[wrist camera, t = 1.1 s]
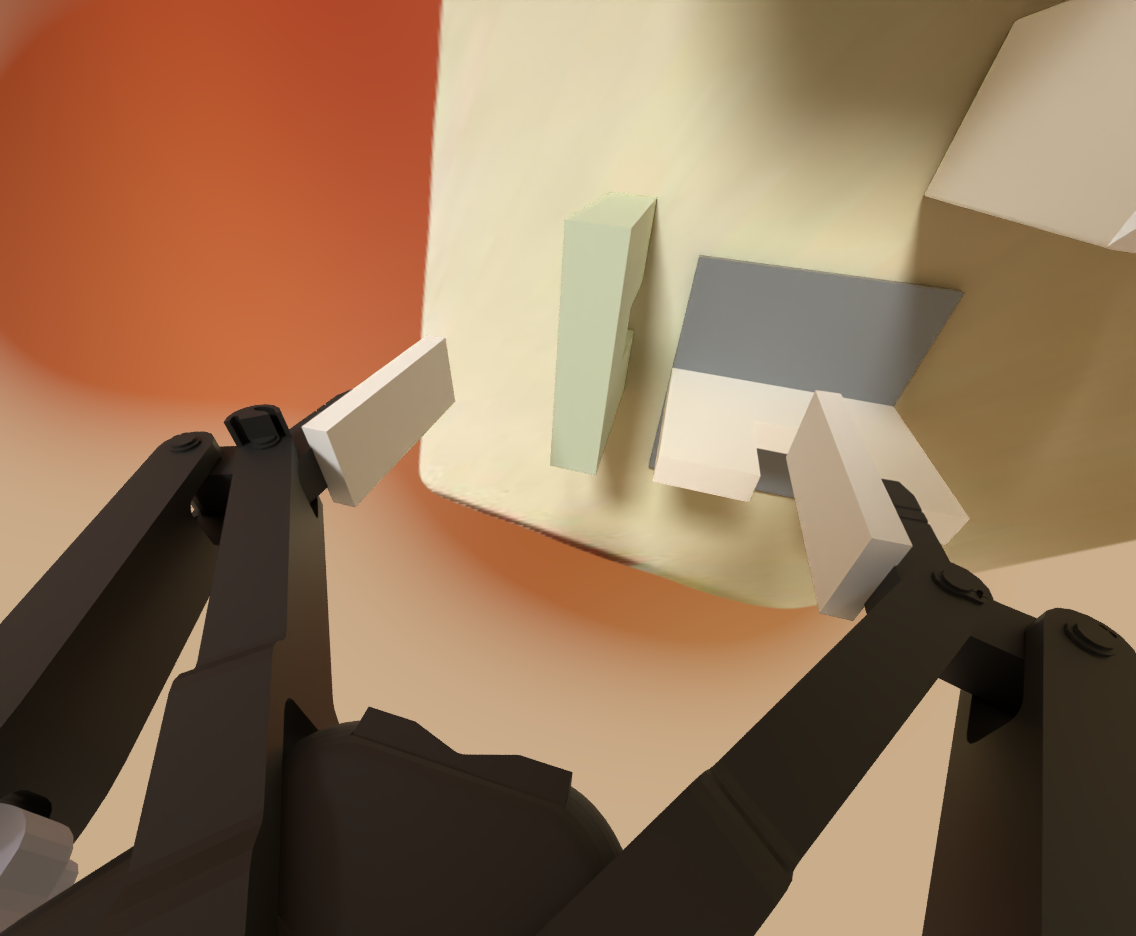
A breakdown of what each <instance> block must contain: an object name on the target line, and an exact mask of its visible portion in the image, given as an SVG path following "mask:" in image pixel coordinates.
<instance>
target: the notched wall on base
mask: <svg viewBox="0 0 1136 936" xmlns="http://www.w3.org/2000/svg"><path fill="white" fill-rule="evenodd" d="M963 294H964V292H962V291H961V290H955V289H948V288H940V287H933V286H925V285H918V284H911V283H903V282H896V281H888V280H881V279H873V278H866V277H859V276H851V275H844V274H836V273H829V272H821V271H814V270H807V269H799V268H792V267H784V266H777V265H769V264H762V263H755V262H747V261H740V260H732V259H725V258H717V257H710V256H703V255H699V260H698V264H697V268H696V272H695V276H694V280H693V284H692V289H691V293H690V297H689V301H688V305H687V309H686V313H685V318H684V322H683V326H682V330H681V334H680V338H679V342H678V347H677V351H676V355H675V359H674V363H673V367H672V371H671V376H670V380H669V384H668V388H667V392H666V396H665V400H664V405H663V409H662V413H661V417H660V421H659V425H658V429H657V434H656V438H655V442H654V446H653V450H652V454H651V458H650V463H649V467H650V468H654V474H653V480H652V481H653V482H657V483H662V484H667V485H671V486H676V487H680V488H685V489H690V490H694V491H699V492H703V493H708V494H713V495H717V496H722V497H727V498H731V499H736V500H740V501H745V502H749V500H750V498H751V496H752V494H753V492H754V490H758V491H763V492H767V493H772V494H777V495H782V496H786V497H791V498H795V497H794V493H793V488H792V483H791V479H790V474H789V470H788V465H787V460H786V456H787V454H788V452H789V449H790V447H791V445H792V442H793V440H794V438H795V436H796V433H797V431H798V429H799V426H800V424H801V422H802V419H803V417H804V415H805V413H806V410H807V408H808V406H809V403H810V401H811V399H812V397H813V394H814V392H815V390H819V391H826V392H833V393H840V394H841V395H842V397H843V399H844V401H845V403H846V406H847V408H848V410H849V412H850V414H851V416H852V418H853V420H854V423H855V425H856V427H857V429H858V431H859V433H860V435H861V437H862V439H863V442H864V444H865V446H866V448H867V450H868V452H869V454H870V456H871V459H872V461H873V463H874V465H875V467H876V469H877V471H878V473H879V476H880V478H881V479H887V480H893V481H899V482H900V483H901V484H902V485H903V486H904V487H905V488H907V489H908V490H909V491H910V492H911V493H912V494H913V495H914V496H915V498H916V500H917V502H918V503H919V505H920V507H921V509H922V511H921V512H923V513H924V514H925V516H926V518H927V520H928V524H930V526H931V527H932V529H933V531H934V533H935V535H936V537H937V539H938V540H939V542H940V544H943V545H946V544H947V543H948V542H949V541H950V540H951V539H952V538H953V537H954V536H955V535H956V534H957V533H958V532H959V530H960V529H961V528H962V527H963V526H964V525H965V524H966V523H967V522H968V521H969V520H970V518H969V517H968V515H967V514H966V512H965V511H964V510H963V508H962V507H961V505H960V504H959V502H958V501H957V499H956V498H955V496H954V495H953V493H952V492H951V490H950V489H949V487H948V486H947V485H946V483H945V482H944V480H943V479H942V477H941V476H940V474H939V473H938V471H937V470H936V468H935V467H934V465H933V464H932V462H931V461H930V459H929V458H928V457H927V455H926V454H925V452H924V451H923V449H922V448H921V446H920V445H919V443H918V442H917V440H916V439H915V437H914V436H913V434H912V433H911V432H910V430H909V429H908V427H907V426H906V424H905V423H904V421H903V420H902V418H901V417H900V415H899V414H898V412H897V411H896V409H895V408H894V405H895V403H896V402H897V400H898V398H899V397H900V395H901V394H902V392H903V390H904V389H905V387H906V386H907V384H908V382H909V381H910V379H911V378H912V376H913V374H914V373H915V371H916V370H917V368H918V366H919V365H920V363H921V362H922V360H923V358H924V357H925V355H926V354H927V352H928V350H929V349H930V347H931V346H932V344H933V342H934V341H935V339H936V338H937V336H938V334H939V333H940V331H941V330H942V328H943V326H944V325H945V323H946V322H947V320H948V318H949V317H950V315H951V314H952V312H953V310H954V309H955V307H956V306H957V304H958V302H959V301H960V299H961V298H962V296H963Z"/></svg>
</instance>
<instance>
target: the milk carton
mask: <svg viewBox="0 0 1136 936" xmlns="http://www.w3.org/2000/svg"><path fill="white" fill-rule="evenodd" d="M925 196H926V197H929V198H932V199H936V200H939V201H943V202H946V203H950V204H953V205H957V206H960V207H964V208H967V209H971V210H974V211H978V212H981V213H985V214H988V215H992V216H995V217H999V218H1002V219H1006V220H1009V221H1013V222H1016V223H1020V224H1023V225H1027V226H1030V227H1034V228H1037V229H1041V230H1044V231H1048V232H1051V233H1055V234H1058V235H1062V236H1065V237H1069V238H1072V239H1076V240H1079V241H1083V242H1086V243H1090V244H1093V245H1097V246H1100V247H1104V248H1107V249H1112V250H1117V251H1123V252H1129V253H1136V0H1069V1H1066V2H1063V3H1061V4H1058V5H1055V6H1053V7H1050V8H1047V9H1045V10H1042V11H1039V12H1037V13H1034V14H1031V15H1028V16H1026V17H1023V18H1020V19H1018V20H1016V21H1015V22H1014V24H1013V26H1012V28H1011V30H1010V31H1009V33H1008V35H1007V37H1006V39H1005V41H1004V43H1003V45H1002V47H1001V49H1000V51H999V53H998V54H997V56H996V58H995V60H994V62H993V64H992V66H991V68H990V70H989V72H988V74H987V76H986V77H985V79H984V81H983V83H982V85H981V87H980V89H979V91H978V93H977V95H976V97H975V98H974V100H973V102H972V104H971V106H970V108H969V110H968V112H967V114H966V116H965V118H964V120H963V121H962V123H961V125H960V127H959V129H958V131H957V133H956V135H955V137H954V139H953V141H952V143H951V144H950V146H949V148H948V150H947V152H946V154H945V156H944V158H943V160H942V162H941V164H940V166H939V167H938V169H937V171H936V173H935V175H934V177H933V179H932V181H931V183H930V185H929V187H928V189H927V190H926V192H925Z"/></svg>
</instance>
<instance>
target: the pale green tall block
mask: <svg viewBox="0 0 1136 936" xmlns="http://www.w3.org/2000/svg"><path fill="white" fill-rule="evenodd" d="M656 200H657V197H650V196H641V195H632V194H624V193H615V192H611V193H609V194H607V195H606V196H604V197H602V198H601V199H599V200H597V201H595V202H594V203H592V204H590V205H589V206H587V207H585V208H584V209H582V210H580V211H578V212H577V213H575V214H573V215H572V216H570V217H568V218H567V219H565V225H564V242H563V259H562V276H561V293H560V309H559V326H558V343H557V360H556V377H555V394H554V411H553V428H552V444H551V461H550V466H554V467H559V468H563V469H568V470H572V471H577V472H582V473H586V474H591V475H596V472H597V469H598V466H599V463H600V460H601V457H602V454H603V451H604V448H605V445H606V442H607V439H608V436H609V433H610V430H611V427H612V424H613V421H614V418H615V415H616V412H617V409H618V406H619V403H620V400H621V397H622V394H623V391H624V387H625V381H626V375H627V369H628V363H629V358H630V352H631V346H632V340H633V334H634V330H630V329H628V323H629V317H630V310H631V306H632V304H633V302H634V299H635V297H636V295H637V293H638V290H639V288H640V286H641V284H642V282H643V276H644V270H645V264H646V258H647V253H648V247H649V241H650V235H651V229H652V223H653V218H654V212H655V206H656Z"/></svg>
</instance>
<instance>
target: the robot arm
mask: <svg viewBox="0 0 1136 936" xmlns="http://www.w3.org/2000/svg"><path fill="white" fill-rule="evenodd" d="M454 402H455V398H454V391H453V385H452V378H451V372H450V365H449V359H448V352H447V346H446V339H445V338H443V337H436V336H429V335H427V336H425V337H424V338H423V339H421V340H420V341H418V342H417V343H416V344H414V345H413V346H412V347H410V348H409V349H407V350H406V351H405V352H403V353H402V354H401V355H399V356H398V357H396V358H395V359H394V360H392V361H391V362H390V363H388V364H387V365H385V366H384V367H383V368H381V369H380V370H379V371H377V372H376V373H375V374H373V375H372V376H370V377H369V378H368V379H366V380H365V381H364V382H362V383H361V384H359V385H358V386H357V387H355V388H354V389H351V390H349V391H346V392H344V393H342V394H339V395H337V396H335V397H334V398H333V399H331V400H330V401H328V402H327V403H326V405H323V406H322V407H320V408H319V409H317V412H316V411H314V412H313V413H312V414H310V415H309V416H307V417H306V418H305V419H303V420H302V421H300V422H299V423H298V424H296V425H295V426H293V427H292V428H291V429H288V426H287V424H286V422H285V420H284V418H283V415H282V413H281V411H280V409H279V408H278V407H276V406H274V405H265V404H264V405H254V406H250V407H246V408H243V409H241V410H238V411H236V412H234V413H232V414H231V415H229V416H228V417H227V418H226V420H225V421H224V424H225V425H226V427H227V429H228V431H229V433H230V434H231V436H232V438H233V440H234V442H235V443H236V445H237V446H224V447H219V445H218V444H217V442H216V440H215V439H214V437H213V435H212V434H211V433H208V432H190V433H183V434H181V435H176V436H174V437H173V438H171V439H169V440H167V441H165V442H164V443H162V444H161V445H160V446H159V447H157V449H156V450H155V451H154V452H153V453H152V454H151V455H150V456H149V458H148V459H147V460H146V461H145V462H144V463H143V464H142V465H141V467H140V468H139V469H138V470H137V471H136V472H135V473H134V474H133V476H132V477H131V478H130V479H129V480H128V481H127V482H126V483H125V484H124V486H123V487H122V488H121V489H120V490H119V491H118V492H117V493H116V495H115V496H114V497H113V498H112V499H111V500H110V501H109V503H108V504H107V505H106V506H105V507H104V508H103V509H102V510H101V511H100V513H99V514H98V515H97V516H96V517H95V518H94V519H93V520H92V522H91V523H90V524H89V525H88V526H87V527H86V528H85V529H84V531H83V532H82V533H81V534H80V535H79V536H78V537H77V538H76V540H75V541H74V542H73V543H72V544H71V545H70V546H69V547H68V548H67V550H66V551H65V552H64V553H63V554H62V555H61V556H60V557H59V559H58V560H57V561H56V562H55V563H54V564H53V565H52V566H51V568H50V569H49V570H48V571H47V572H46V573H45V574H44V575H43V577H42V578H41V579H40V580H39V581H38V582H37V583H36V584H35V585H34V587H33V588H32V589H31V590H30V591H29V592H28V593H27V594H26V596H25V597H24V598H23V599H22V600H21V601H20V602H19V603H18V605H17V606H16V607H15V608H14V609H13V610H12V611H11V612H10V614H9V615H8V616H7V617H6V618H5V619H4V620H3V621H2V623H1V624H0V936H754V935H755V934H756V932H757V931H758V930H759V928H760V927H761V925H762V924H763V923H764V921H765V920H766V919H767V917H768V916H769V915H770V913H771V912H772V911H773V909H774V908H775V907H776V905H777V904H778V902H779V901H780V899H781V898H782V897H783V895H784V893H785V892H786V891H787V889H788V887H789V885H790V883H791V881H792V876H793V871H794V869H795V867H796V866H797V864H798V863H799V861H800V860H801V859H802V857H803V856H804V854H805V853H806V852H807V851H808V849H809V848H810V847H811V845H812V844H813V843H814V841H815V840H816V839H817V837H818V836H819V835H820V833H821V832H822V831H823V829H824V828H825V827H826V825H827V824H828V823H829V821H830V820H831V819H832V818H833V816H834V815H835V814H836V812H837V811H838V809H839V808H840V807H841V806H842V804H843V803H844V802H845V800H846V799H847V798H848V796H849V795H850V794H851V792H852V791H853V790H854V789H855V787H856V786H857V785H858V783H859V782H860V781H861V779H862V778H863V777H864V775H865V774H866V773H867V771H868V770H869V769H870V767H871V766H872V765H873V763H874V762H875V761H876V759H877V758H878V757H879V755H880V754H881V753H882V751H883V750H884V749H885V748H886V746H887V745H888V744H889V742H890V741H891V740H892V738H893V737H894V736H895V734H896V733H897V732H898V730H899V729H900V728H901V726H902V725H903V724H904V722H905V721H906V720H907V718H908V717H909V716H910V714H911V713H912V712H913V710H914V709H915V708H916V706H917V705H918V704H919V703H920V701H921V700H922V699H923V697H924V696H925V695H926V693H927V692H928V691H929V689H930V688H931V687H932V685H933V684H934V683H935V681H936V680H937V679H938V678H940V679H942V680H944V681H946V682H948V683H950V684H952V685H954V686H956V687H958V688H960V689H961V690H960V697H959V703H958V709H957V716H956V722H955V728H954V735H953V741H952V747H951V754H950V760H949V767H948V773H947V779H946V786H945V792H944V799H943V806H942V811H941V818H940V824H939V831H938V837H937V844H936V850H935V856H934V862H933V869H932V876H931V882H930V888H929V895H928V901H927V908H926V914H925V920H924V926H923V927H924V928H923V933H922V936H1136V653H1135V651H1134V649H1133V648H1132V647H1131V646H1130V645H1129V644H1128V643H1127V642H1126V641H1125V640H1124V639H1123V638H1122V637H1121V636H1120V635H1119V634H1117V633H1116V632H1115V631H1113V630H1112V629H1111V628H1109V627H1108V626H1106V625H1105V624H1103V623H1101V622H1099V621H1097V620H1095V619H1093V618H1092V617H1090V616H1088V615H1085V614H1082V613H1079V612H1076V611H1074V610H1070V609H1063V608H1054V609H1051V610H1048V611H1046V612H1045V613H1043V614H1042V615H1041V616H1040V617H1038V618H1035V617H1032V616H1030V615H1027V614H1025V613H1022V612H1020V611H1018V610H1015V609H1013V608H1010V607H1008V606H1005V605H1003V604H1000V603H998V602H996V601H994V600H993V597H992V595H991V593H990V591H989V589H988V588H987V587H986V586H985V585H984V584H983V582H982V581H981V580H980V579H979V578H977V577H976V576H975V575H973V574H972V573H971V572H969V571H968V570H966V569H964V568H962V567H960V566H958V565H956V564H954V563H951V562H950V561H949V559H948V557H947V555H946V553H945V552H944V550H943V548H942V546H941V544H940V542H939V540H938V539H937V537H936V535H935V533H934V531H933V529H932V527H931V526H930V524H928V520H927V518H926V516H925V514H924V513H923V512H921V511H922V509H921V507H920V505H919V503H918V502H917V500H916V498H915V496H914V495H913V494H912V493H911V492H910V491H909V490H908V489H907V488H905V487H904V486H903V485H902V484H901V483H900V482H899V481H893V480H887V479H881V478H880V476H879V473H878V471H877V469H876V467H875V465H874V463H873V461H872V459H871V456H870V454H869V452H868V450H867V448H866V446H865V444H864V442H863V439H862V437H861V435H860V433H859V431H858V429H857V427H856V425H855V423H854V420H853V418H852V416H851V414H850V412H849V410H848V408H847V406H846V403H845V401H844V399H843V397H842V395H841V394H840V393H833V392H826V391H819V390H815V392H814V394H813V397H812V399H811V401H810V403H809V406H808V408H807V410H806V413H805V415H804V417H803V419H802V422H801V424H800V426H799V429H798V431H797V433H796V436H795V438H794V440H793V442H792V445H791V447H790V449H789V452H788V454H787V456H786V460H787V465H788V470H789V474H790V479H791V483H792V488H793V493H794V497H795V502H796V507H797V511H798V516H799V521H800V525H801V530H802V535H803V539H804V544H805V549H806V553H807V558H808V563H809V567H810V572H811V576H812V581H813V586H814V590H815V595H816V600H817V604H818V609H819V613H821V614H825V615H829V616H834V617H838V618H842V619H847V620H851V621H853V620H854V619H855V618H856V616H857V615H858V614H859V613H860V611H861V610H862V609H863V608H864V606H865V610H866V613H867V615H866V616H865V617H864V618H863V619H862V620H861V621H860V622H859V623H858V624H857V625H856V626H855V627H854V628H853V629H852V630H851V631H850V632H849V633H848V634H847V635H846V636H845V637H844V638H843V639H842V640H841V641H840V642H839V643H838V644H837V645H836V646H835V647H834V648H833V649H832V650H830V651H829V652H828V653H827V654H826V655H825V656H824V657H823V658H822V659H821V660H820V661H819V662H818V663H817V664H816V665H815V666H814V667H813V668H812V669H811V670H810V671H809V672H808V673H807V674H806V675H805V676H804V677H803V678H802V679H801V680H800V681H799V682H798V683H797V684H796V685H795V686H794V687H793V688H792V689H791V690H790V691H789V692H788V693H787V694H786V695H785V696H784V697H783V698H782V699H781V700H780V701H779V702H778V703H777V704H776V705H775V706H774V707H773V708H772V709H771V710H770V711H769V712H768V713H767V714H766V715H765V716H764V717H763V718H762V719H761V720H760V721H759V722H758V723H757V724H755V725H754V726H753V727H752V728H751V729H750V730H749V732H747V733H746V735H744V737H742V738H741V739H740V740H739V741H738V742H737V743H736V744H735V745H734V746H733V747H732V748H731V749H730V750H729V751H728V752H727V753H726V754H725V755H724V756H723V757H722V758H721V759H720V760H719V761H718V762H717V763H716V764H715V765H714V766H713V767H711V768H710V769H708V770H706V771H705V772H704V773H702V774H701V775H700V776H699V777H698V778H697V779H695V780H694V781H693V782H692V783H691V784H690V785H689V786H688V787H687V788H686V789H685V790H684V791H683V792H682V793H681V794H680V795H679V796H678V797H677V798H676V799H675V800H674V801H673V802H672V803H671V804H670V805H669V806H668V807H667V808H666V809H665V810H664V811H663V812H662V813H660V814H659V815H658V817H656V818H655V819H654V820H653V821H652V822H651V823H650V824H649V825H648V826H647V827H646V828H645V829H644V830H643V831H642V832H641V833H640V834H639V835H638V836H637V837H636V838H635V839H634V840H633V841H632V842H631V843H630V844H629V845H628V846H627V847H626V848H625V849H624V850H623V849H622V847H621V846H620V843H619V841H618V839H617V837H616V836H615V834H614V832H613V830H612V829H611V827H610V826H609V824H608V823H607V821H606V820H605V818H604V817H603V816H602V814H601V813H600V812H599V811H598V810H597V808H596V807H595V806H594V805H593V804H592V803H591V802H590V801H589V800H588V799H587V798H586V797H585V796H583V795H582V794H581V793H580V792H578V791H577V790H576V789H574V788H573V787H571V781H572V772H570V771H567V770H564V769H561V768H558V767H554V766H551V765H548V764H545V763H542V762H539V761H536V760H533V759H530V758H526V757H523V756H520V755H465V754H459V753H457V752H455V751H454V750H452V749H451V748H450V747H448V746H447V745H446V744H444V743H443V742H442V741H440V740H439V739H438V738H436V737H435V736H434V735H432V734H431V733H430V732H428V731H427V730H426V729H424V728H423V727H422V726H420V725H419V724H418V723H416V722H415V721H412V720H408V719H405V718H403V717H399V716H396V715H393V714H390V713H387V712H384V711H381V710H378V709H375V708H372V707H368V709H367V710H366V712H365V714H364V715H363V717H362V719H361V720H360V721H353V722H345V723H341V724H339V722H338V719H337V717H336V713H335V710H334V705H333V695H332V676H331V658H330V639H329V620H328V600H327V580H326V562H325V542H324V524H323V504H322V502H321V500H320V498H319V495H320V494H321V493H322V492H323V491H324V490H325V489H326V488H328V490H329V493H330V495H331V497H332V500H333V502H335V503H340V504H344V505H348V506H352V507H356V506H357V505H358V504H359V503H360V502H361V501H362V500H363V499H364V498H365V496H366V495H367V494H368V493H369V492H370V491H371V490H372V489H373V488H374V487H375V486H376V485H377V484H378V483H379V482H380V480H382V478H383V477H384V476H385V475H386V474H387V473H388V472H389V471H390V470H391V469H392V468H393V467H394V466H395V465H396V464H397V463H398V461H399V460H400V459H401V458H402V457H403V456H404V455H405V454H406V453H407V452H408V451H409V450H410V449H411V448H412V446H413V445H414V444H415V443H416V442H417V441H418V440H419V439H420V438H421V437H422V436H423V435H424V434H425V433H426V432H427V431H428V430H429V428H430V427H431V426H432V425H433V424H434V423H435V422H436V421H437V420H438V419H439V418H440V417H441V416H442V415H443V414H444V413H445V411H446V410H447V409H448V408H449V407H450V406H451V405H452V404H453V403H454ZM191 505H192V507H193V508H194V511H193V512H192V513H191ZM209 596H210V598H209ZM208 598H209V603H208V609H207V614H206V619H205V625H204V630H203V635H202V640H201V645H200V650H199V656H198V661H197V664H196V667H195V668H194V669H193V670H190V671H187V672H185V673H181V674H179V676H178V677H177V678H176V679H175V680H174V681H173V683H172V686H171V689H170V691H169V694H168V699H167V703H166V708H165V712H164V717H163V721H162V725H161V730H160V734H159V738H158V743H157V747H156V752H155V756H154V760H153V765H152V769H151V774H150V778H149V782H148V787H147V791H146V795H145V800H144V804H143V808H142V813H141V817H140V822H139V826H138V831H137V835H136V839H135V843H134V846H133V847H131V848H130V849H128V850H127V851H125V852H124V853H122V854H120V855H119V856H117V857H116V858H114V859H113V860H111V861H110V862H108V863H106V864H105V865H103V866H102V867H100V868H99V869H97V870H95V871H94V872H92V873H91V874H89V875H88V876H86V877H85V878H83V879H81V880H80V881H78V882H77V883H75V884H74V882H75V880H76V877H77V875H78V864H77V863H75V862H74V861H72V860H70V856H71V853H72V850H73V844H74V842H75V841H76V840H77V838H78V837H79V836H80V834H81V833H82V832H83V830H84V829H85V827H86V826H87V824H88V823H89V821H90V820H91V818H92V817H93V815H94V814H95V812H96V811H97V809H98V808H99V806H100V805H101V803H102V801H103V800H104V799H105V797H106V796H107V794H108V792H109V790H110V788H111V787H112V785H113V783H114V781H115V780H116V778H117V776H118V774H119V772H120V771H121V769H122V767H123V765H124V764H125V762H126V760H127V758H128V756H129V753H130V752H131V750H132V748H133V746H134V744H135V742H136V740H137V738H138V736H139V734H140V732H141V730H142V728H143V726H144V724H145V722H146V720H147V718H148V716H149V715H150V712H151V711H152V709H153V706H154V705H155V703H156V701H157V699H158V696H159V695H160V693H161V691H162V689H163V687H164V685H165V683H166V681H167V679H168V677H169V675H170V673H171V671H172V669H173V667H174V665H175V663H176V661H177V659H178V657H179V655H180V653H181V651H182V649H183V647H184V646H185V644H186V642H187V639H188V637H189V636H190V634H191V632H192V629H193V628H194V626H195V624H196V622H197V620H198V618H199V616H200V614H201V612H202V610H203V608H204V606H205V604H206V602H207V600H208Z"/></svg>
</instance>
